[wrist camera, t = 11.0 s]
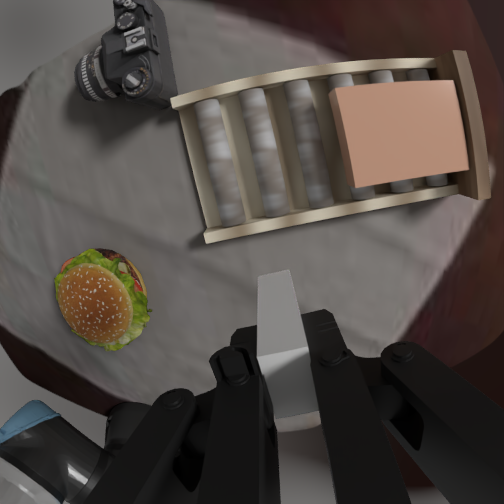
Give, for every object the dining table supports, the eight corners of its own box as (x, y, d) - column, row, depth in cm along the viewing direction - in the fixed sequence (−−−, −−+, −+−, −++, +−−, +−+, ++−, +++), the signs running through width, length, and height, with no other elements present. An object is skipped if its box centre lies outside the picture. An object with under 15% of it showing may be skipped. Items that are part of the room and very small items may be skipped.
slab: (347, 184, 34) (355, 188, 30) (328, 93, 31) (334, 88, 27) (453, 167, 32) (469, 169, 29) (438, 84, 29) (453, 80, 26)
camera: (92, 35, 32) (52, 13, 22) (167, 5, 31) (141, -29, 21) (107, 129, 36) (63, 126, 26) (187, 102, 35) (161, 87, 25)
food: (100, 341, 46) (78, 371, 38) (58, 261, 42) (27, 281, 34) (174, 321, 44) (158, 354, 36) (130, 228, 40) (102, 246, 32)
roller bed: (210, 236, 39) (198, 256, 32) (177, 102, 35) (157, 91, 27) (458, 188, 36) (490, 197, 29) (435, 63, 31) (465, 51, 24)
